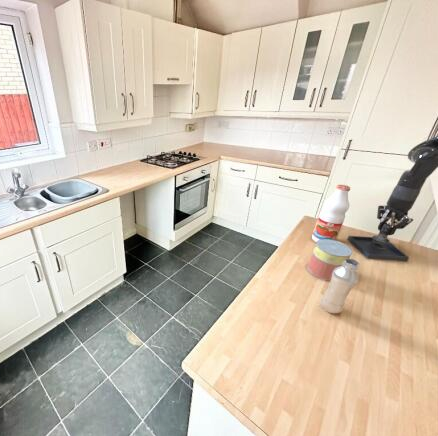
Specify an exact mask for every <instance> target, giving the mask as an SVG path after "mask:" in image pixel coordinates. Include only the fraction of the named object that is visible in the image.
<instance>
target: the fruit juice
mask: <svg viewBox="0 0 438 436" xmlns="http://www.w3.org/2000/svg"><path fill="white" fill-rule="evenodd" d="M350 191H351V186H349V185H347V184H337V185H335V190H334V192H332V194H331V195H330V196H329V197H328V198H327V199H325V201H324V202H323V208H322V209H321V211H320V213H319V214H318V217H317V221H316V223H315V226H314V229H313V230H312V231H313V232H312V234H311V239H312V240H313V241H314V242H315V243H317V241H318V240H321V239H330V240H335V241H337V238H338V236H339V233H340V231H341V228H342V226H343V224H344V222H345V218H346V213H347V212H348V210H350V209H349V208H350V202H349V192H350Z"/></svg>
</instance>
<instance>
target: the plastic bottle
mask: <svg viewBox="0 0 438 436" xmlns="http://www.w3.org/2000/svg"><path fill="white" fill-rule="evenodd" d="M359 266H360V263H359V261H357V260H356V259H353V258H347V259H345V260H344V262H343V263H342V266H339V267H337V268H336V269H335V270H334V271H333V273H332V277H331V281H330V282H329V283H328V287H327V289H326V290H325V292H324V293H323V294H322V295H321V297H320V299H319V305H320V307H321V308H322V309H323V310H324V311H325V312H327V313H330V314H332V315H333V314H335V315H336V314H339V313H341V312H343V310H344V308H345V305H346V300H347V299H348V295H349V294H350V293H351V290H352V289H353V288H355V286H356V284H357V283H358V282H359V275H358V272H357V271H358V269H359Z"/></svg>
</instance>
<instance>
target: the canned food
mask: <svg viewBox="0 0 438 436" xmlns="http://www.w3.org/2000/svg"><path fill="white" fill-rule="evenodd" d="M352 254H353V250H352V249H351V248H350V246H348V245H346V244H345V243H343V242H341V241H338V240H330V239H321V240H318V241H317V242H315V246H314V249H313V252H312V254H311V257H310V259H309V262H308V264H307V270H308V272H310V273H311V274H312V275H313V276H315V277H317V278H319V279H321V280H324V281H331V277H332V273H333V271H334V270H335V269H336V268H337V267H339V266H342V263H343V262H344V260H345V259H347V258H349V259H351V256H352Z"/></svg>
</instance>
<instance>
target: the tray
mask: <svg viewBox="0 0 438 436" xmlns="http://www.w3.org/2000/svg"><path fill="white" fill-rule="evenodd" d="M372 237H373V236H359V235H358V236H356V235H348V238H347V240H348V241H349V242H350V243H351V244H352V245H353V246H354V247H355V248H356V249H357V250H358V251H359V252H360V253H361V254H362V255H363V256H364V257H365V258H366V259H372V260H385V261H386V260H387V261H397V262H398V261H399V262H408V261H409V259H410V256H408V255H407V254H405V253H404V252H403V251H402V250H401V249H399V248H398V247H397V246H395V245H394V244H393V243H391V241H390V242H389V243H387V244H386V245H384V246H385V249H379V248H375V247H373V246H371V245H370V243H371V242H373V238H372Z"/></svg>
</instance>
